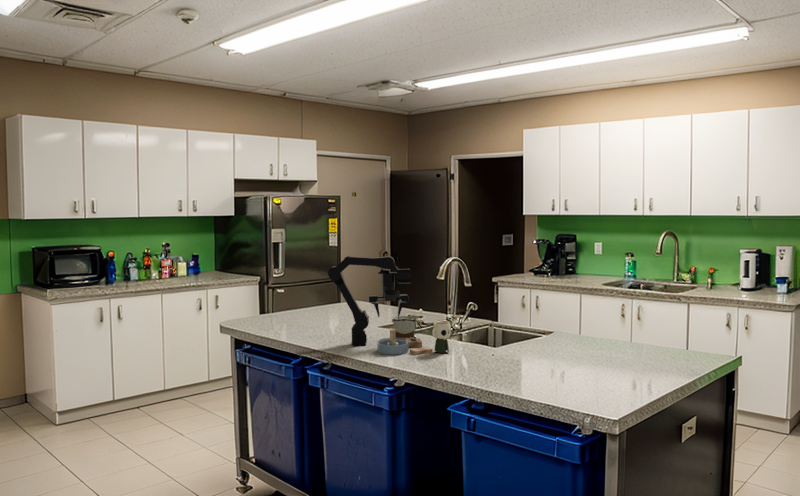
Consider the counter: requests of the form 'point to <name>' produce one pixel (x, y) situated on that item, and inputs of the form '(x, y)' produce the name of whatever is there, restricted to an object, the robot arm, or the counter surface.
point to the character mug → (441, 336)
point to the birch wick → (392, 337)
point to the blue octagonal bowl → (392, 347)
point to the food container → (404, 326)
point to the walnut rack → (414, 342)
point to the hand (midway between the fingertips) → (388, 316)
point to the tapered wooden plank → (421, 351)
